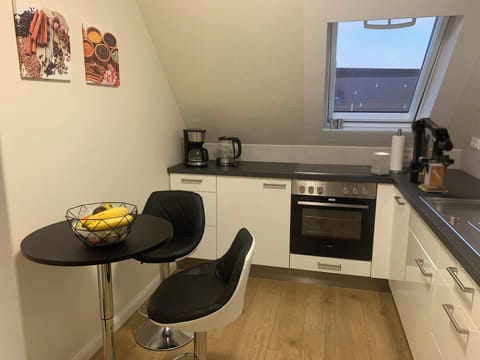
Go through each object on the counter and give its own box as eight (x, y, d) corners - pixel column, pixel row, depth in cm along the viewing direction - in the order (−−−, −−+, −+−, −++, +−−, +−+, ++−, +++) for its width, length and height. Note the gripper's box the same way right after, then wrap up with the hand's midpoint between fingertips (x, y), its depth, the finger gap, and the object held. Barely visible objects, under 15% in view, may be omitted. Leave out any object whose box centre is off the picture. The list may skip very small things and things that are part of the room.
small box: (428, 187, 224) (431, 165, 221) (423, 184, 230) (426, 163, 227) (442, 187, 224) (445, 166, 221) (436, 184, 230) (439, 164, 227)
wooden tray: (418, 186, 235) (418, 182, 235) (438, 187, 234) (439, 183, 233) (426, 192, 222) (426, 188, 221) (447, 193, 220) (448, 189, 219)
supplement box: (380, 171, 279) (382, 152, 276) (389, 174, 271) (391, 153, 268) (370, 172, 276) (372, 152, 273) (379, 175, 268) (381, 154, 265)
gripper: (426, 150, 215) (422, 176, 219) (460, 151, 213) (456, 178, 216) (419, 147, 226) (416, 172, 230) (452, 148, 224) (448, 174, 227)
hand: (434, 174), depth 225 cm, fingers closed on small box, 8 cm apart
